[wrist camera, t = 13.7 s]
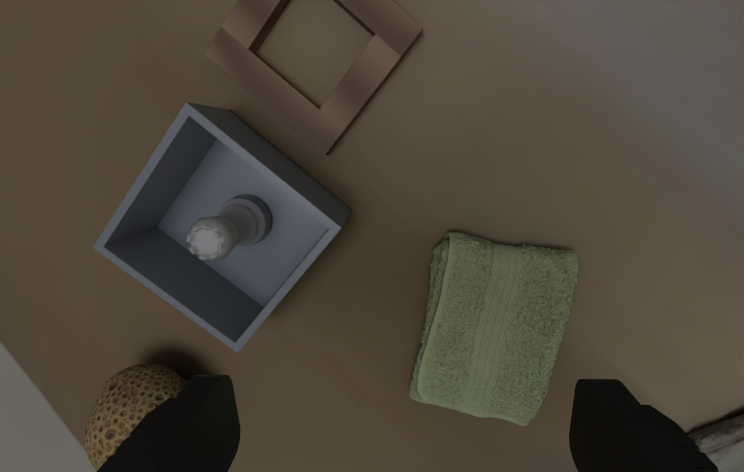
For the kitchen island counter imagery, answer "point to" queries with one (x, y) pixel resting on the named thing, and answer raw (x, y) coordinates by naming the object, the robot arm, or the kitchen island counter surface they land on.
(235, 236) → the rook chess piece
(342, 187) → the kitchen island counter surface
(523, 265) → the washcloth
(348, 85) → the socket block
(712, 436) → the long grey stone
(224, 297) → the bin
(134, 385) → the natural sponge
